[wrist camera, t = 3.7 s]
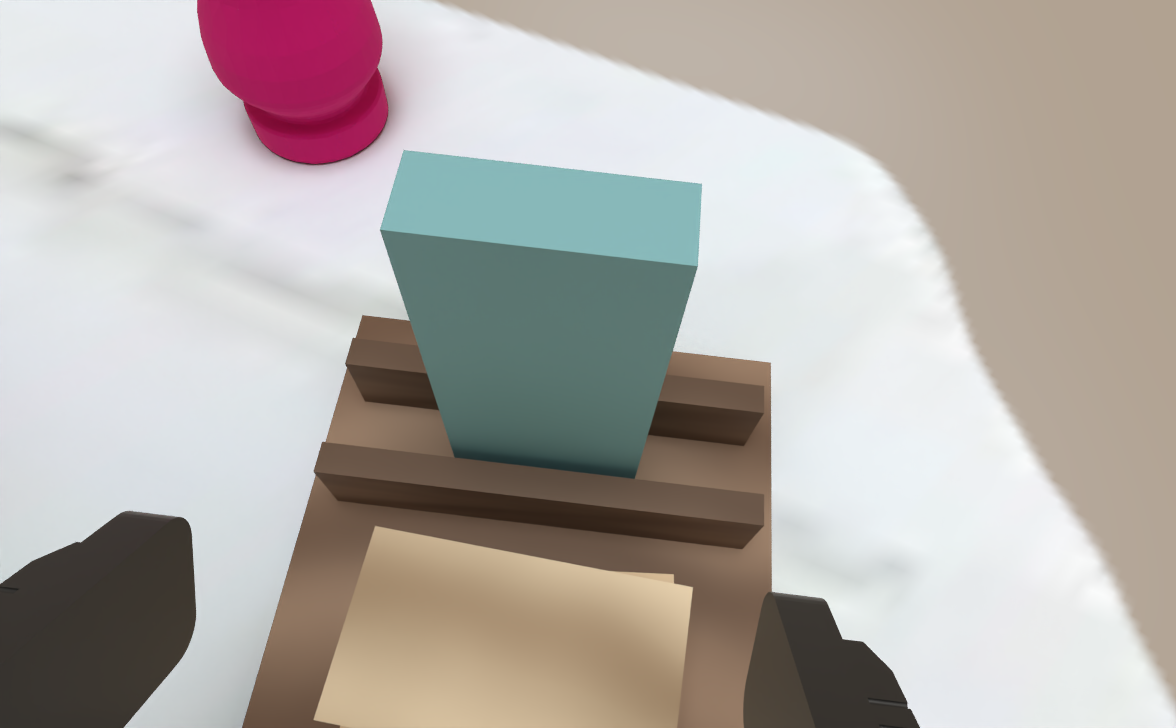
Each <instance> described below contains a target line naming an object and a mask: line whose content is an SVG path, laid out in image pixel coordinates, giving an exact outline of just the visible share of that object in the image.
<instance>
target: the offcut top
mask: <svg viewBox="0 0 1176 728" xmlns="http://www.w3.org/2000/svg"><path fill="white" fill-rule="evenodd" d="M692 591H693V587H689V586H684V585H679V584H674V583H668V582H663V581H658V580H653V579H648V578H643V577H637V576H632V575H627V574H622V573H617V572H611V571H606V570H601V569H596V568H591V567H585V566H580V565H575V564H570V563H565V562H560V561H554V560H549V559H544V558H539V557H534V556H528V555H523V554H518V553H513V552H508V551H502V550H497V549H492V548H487V547H482V546H476V545H471V544H466V543H461V542H456V541H451V540H445V539H440V538H435V537H430V536H425V535H419V534H414V533H409V532H404V531H399V530H393V529H388V528H383V527H378V526H375V528H374V531H373V534H372V538H371V541H370V544H369V547H368V550H367V553H366V556H365V560H364V563H363V566H362V569H361V572H360V575H359V578H358V582H357V585H356V588H355V591H354V594H353V597H352V600H351V604H350V607H349V610H348V613H347V616H346V619H345V622H344V625H343V629H342V632H341V635H340V638H339V641H338V644H337V647H336V651H335V654H334V657H333V660H332V663H331V666H330V669H329V673H328V676H327V679H326V682H325V685H324V688H323V691H322V695H321V698H320V701H319V704H318V707H317V710H316V713H315V716H314V720H316V721H321V722H326V723H330V724H335V725H340V726H345V727H350V728H677V724H678V715H679V706H680V698H681V689H682V680H683V671H684V662H685V653H686V645H687V636H688V627H689V618H690V609H691V600H692Z"/></svg>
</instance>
